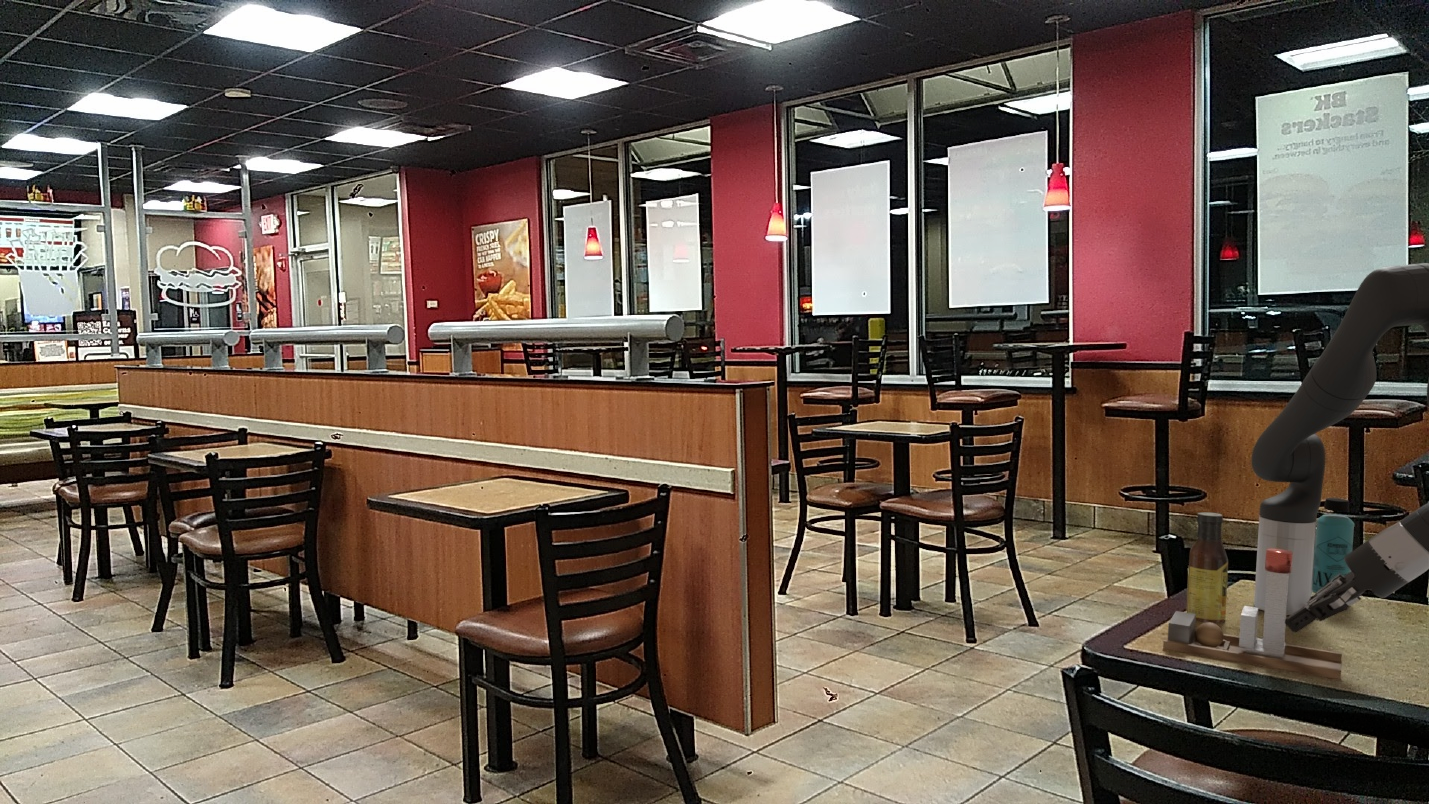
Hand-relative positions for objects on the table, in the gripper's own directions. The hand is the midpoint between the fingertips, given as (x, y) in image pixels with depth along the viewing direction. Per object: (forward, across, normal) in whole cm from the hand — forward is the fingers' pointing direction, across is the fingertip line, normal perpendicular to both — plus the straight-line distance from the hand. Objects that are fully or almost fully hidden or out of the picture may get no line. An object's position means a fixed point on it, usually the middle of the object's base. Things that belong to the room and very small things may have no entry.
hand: (1289, 626), depth 155 cm
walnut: (+12, 0, -4) cm, 12 cm away
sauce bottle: (+14, -18, -5) cm, 24 cm away
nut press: (+8, 0, +1) cm, 8 cm away
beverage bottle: (+2, -50, +8) cm, 51 cm away
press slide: (+6, 0, +1) cm, 6 cm away
